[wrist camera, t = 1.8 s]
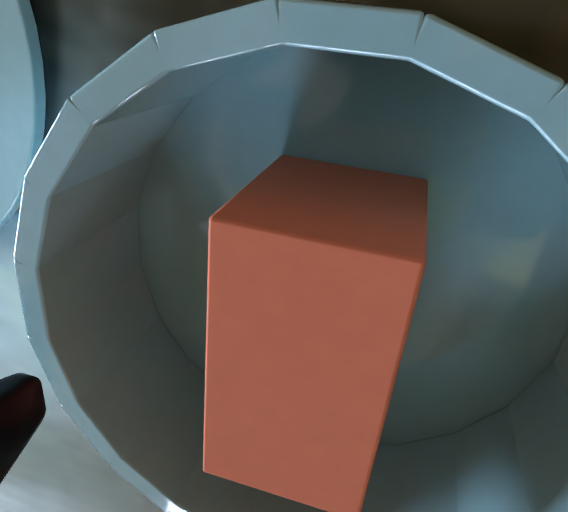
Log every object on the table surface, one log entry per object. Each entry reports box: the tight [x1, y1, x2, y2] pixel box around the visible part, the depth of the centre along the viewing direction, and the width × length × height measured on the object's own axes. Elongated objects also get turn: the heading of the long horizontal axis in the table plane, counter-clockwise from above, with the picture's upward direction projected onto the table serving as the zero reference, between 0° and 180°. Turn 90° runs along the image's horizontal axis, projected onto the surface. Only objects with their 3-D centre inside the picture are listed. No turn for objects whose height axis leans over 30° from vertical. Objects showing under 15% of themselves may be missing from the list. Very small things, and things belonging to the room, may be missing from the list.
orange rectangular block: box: [203, 155, 428, 512], centre depth 12 cm, size 7×4×5 cm, turn 174°
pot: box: [13, 0, 568, 512], centre depth 13 cm, size 14×14×5 cm
